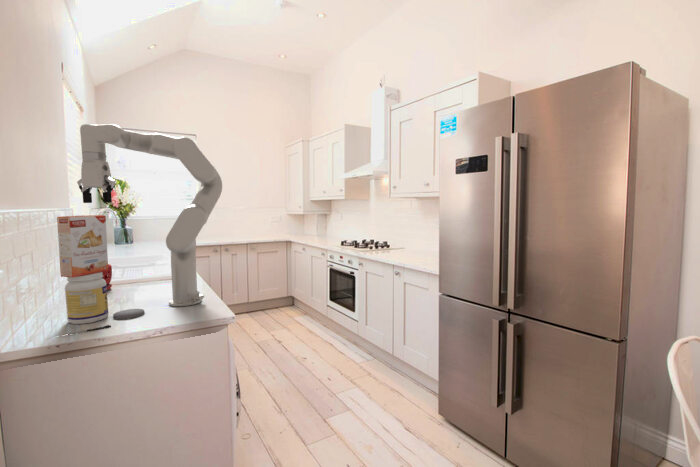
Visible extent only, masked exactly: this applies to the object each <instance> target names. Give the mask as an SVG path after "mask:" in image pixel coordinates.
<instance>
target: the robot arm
mask: <svg viewBox="0 0 700 467" xmlns="http://www.w3.org/2000/svg"><path fill="white" fill-rule="evenodd" d="M79 129H80V130H79V132H80V146H81V147H80V148H81V160H82V161H81V173H80V174H81V176H80V179H79V180H77V182H76V183H77V185H78V188H79V189H80V192H81V193H82V203H84V204H92V203H93V200H92V199H93V197H92V192H91V191H92V189H93V188H97V189H102V191H103V192H102V202H103V203H104V204H106V203H107V204H111V203H113V200H112V193H113V190H114V188H115V185H116V180H115V179H113V178H112V173H111V172H112V171H111V168H110V164H109V162H108V161H107V152H106V144H109V145H111V146H115V147H117V148H121V149H123V150H125V149H126V150H128V151H129V150H131V151H134V152H139V153H140V152H141V153H145V154H148V155H149V154H150V155H154V156H158V157H159V156H161V157H166V158H170V159H175V160H179V162H180V163H181V164H182V165H183V166H184V168H186V170H187V171H188V172H189V173H190V175H191V176H192V177H193V178H194V179H195V180H196V181H197V182H199V183H200V187H199V190H198V191H197V193H196V194H195V196H194V198H193V199H192V202H191V203H190V204H189V205H188V206H186V207H185V208H183V209H182V210H181V212H180V213H179V215H178V216H177V219H176V220H175V222H174V223H173V225H172V227H171V228H170V230H169V232H168V234H167V236H166V237H165V246H166V247H167V249H168V250H169V251H170V270H171V272H170V273H171V288H172V299H170V300H169V301H168V305H169V306H170V307H189V306H194V305H197V304H200V303H201V302H202V301H203V299H204V298H205V295H204V294H200V291H199V290H198V279H197V278H198V276H197V254H196V253H197V237H198V236H199V234H200V232H201V230H202V229H203V227H204V226H205V225H206V224H207V222H208V219H209V217H210V215H211V214H212V212H213V210H214V208H215V207H216V204H217V202H218V200H219V199H220V197H221V194H222V191H223V180H222V177H221V175H220V174H219V171H217V169H216V168H215V166H214V165H213V164H212V163H211V162H210V161H209V160H208V159H207V157H206V156H205V155H204V153H203V152H202V150H200V148H199V147H198V146H197V144H196V143H195V141H193V139H192V138H189V137H187V136H181V137H176V136H170V135H166V134H162V133H158V132H155V133H153V132H152V133H148V134H147V133H140V132H136V131H131V130H126V129H124V128H122V127H121V126H119V125H117V124H114V123H108V124H106V123H105V124H92V123H91V124H89V123H85V124H82V125H80V127H79Z"/></svg>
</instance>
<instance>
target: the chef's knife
mask: <svg viewBox="0 0 700 467" xmlns="http://www.w3.org/2000/svg"><path fill="white" fill-rule="evenodd" d="M109 327H110V328H111V327H112V326H111V325H110V324H107V325H104V326H99V327H94V328H89V329H81V330H76V331H73V332H68V333H69V334H68V336H71V335H70V334H73V335H77V334H76V333H78V334H82V332H84V333H88V331H89V332H93V331H98V330H103V329H104V328H105V329H109Z"/></svg>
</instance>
